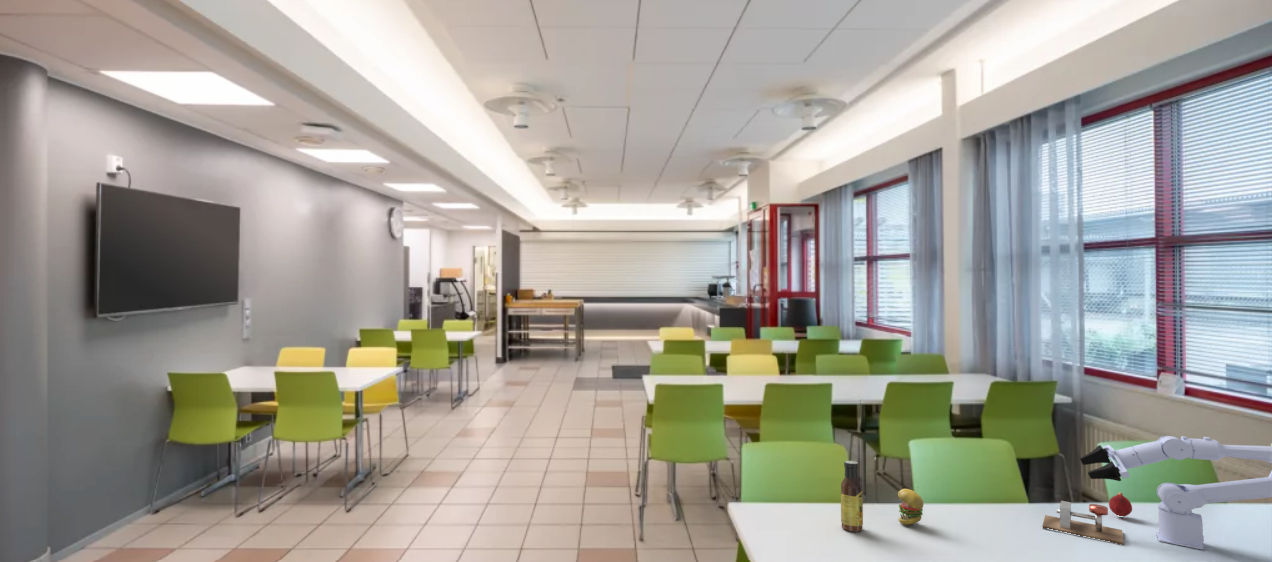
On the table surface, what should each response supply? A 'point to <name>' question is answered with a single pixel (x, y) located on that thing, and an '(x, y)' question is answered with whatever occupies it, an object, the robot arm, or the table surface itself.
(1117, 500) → the onion
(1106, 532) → the board
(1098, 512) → the red knob lever
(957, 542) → the table surface
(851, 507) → the sauce bottle
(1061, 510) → the grey rectangular block
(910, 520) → the hamburger
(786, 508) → the table surface
